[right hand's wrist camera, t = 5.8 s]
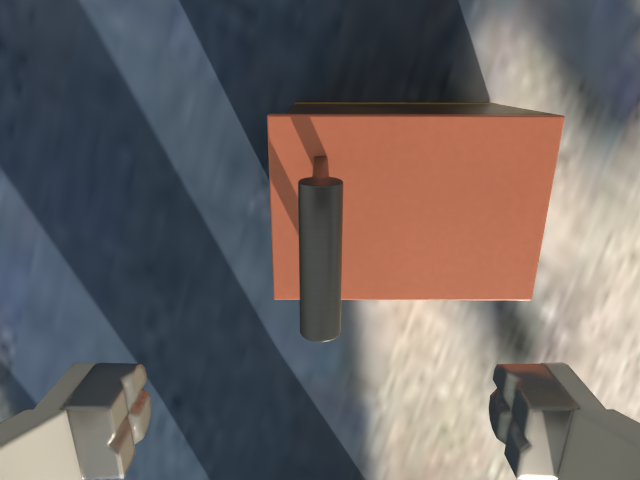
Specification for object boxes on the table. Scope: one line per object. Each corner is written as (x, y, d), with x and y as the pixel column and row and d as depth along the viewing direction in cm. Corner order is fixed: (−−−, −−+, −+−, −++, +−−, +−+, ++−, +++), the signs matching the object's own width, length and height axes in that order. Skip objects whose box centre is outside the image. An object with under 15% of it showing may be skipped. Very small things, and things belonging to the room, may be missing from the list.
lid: (275, 292, 26) (256, 380, 19) (268, 113, 23) (243, 133, 15) (525, 293, 26) (606, 381, 19) (556, 114, 23) (671, 134, 15)
